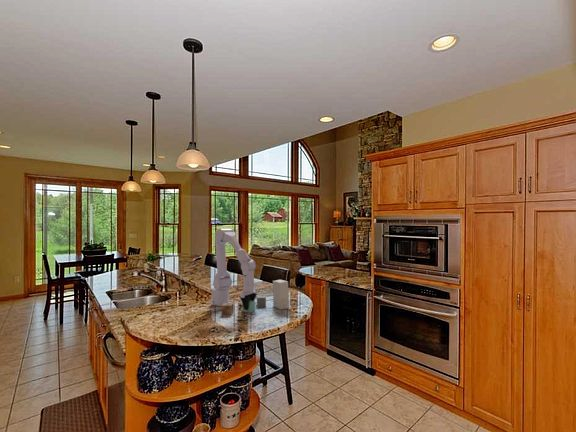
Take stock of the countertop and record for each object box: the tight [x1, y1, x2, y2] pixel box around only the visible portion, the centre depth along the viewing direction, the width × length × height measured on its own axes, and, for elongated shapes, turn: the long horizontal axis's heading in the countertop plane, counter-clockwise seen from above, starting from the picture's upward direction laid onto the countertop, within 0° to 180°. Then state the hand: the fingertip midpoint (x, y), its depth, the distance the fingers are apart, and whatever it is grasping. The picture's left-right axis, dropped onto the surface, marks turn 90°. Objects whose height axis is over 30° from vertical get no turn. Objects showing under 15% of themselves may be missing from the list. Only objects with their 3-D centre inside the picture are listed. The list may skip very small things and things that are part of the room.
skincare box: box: [272, 279, 290, 310], centre depth 167 cm, size 8×6×15 cm
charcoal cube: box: [256, 295, 267, 308], centre depth 171 cm, size 5×5×5 cm
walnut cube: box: [221, 302, 235, 316], centre depth 156 cm, size 5×5×5 cm
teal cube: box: [241, 300, 256, 314], centre depth 161 cm, size 5×5×5 cm
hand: (248, 308), depth 161 cm, fingers closed on teal cube, 5 cm apart
